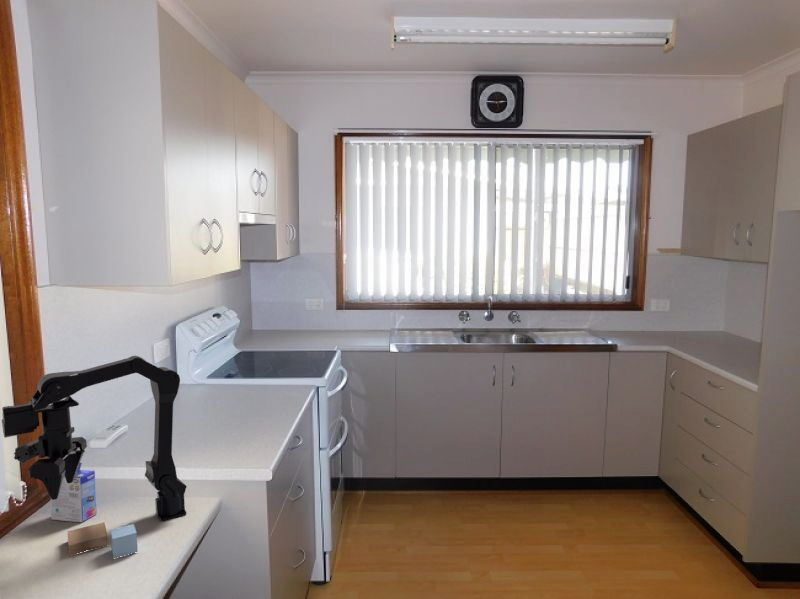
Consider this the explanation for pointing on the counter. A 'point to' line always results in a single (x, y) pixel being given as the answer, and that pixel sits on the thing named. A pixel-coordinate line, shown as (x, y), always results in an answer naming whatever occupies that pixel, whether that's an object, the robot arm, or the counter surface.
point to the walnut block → (87, 538)
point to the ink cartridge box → (76, 498)
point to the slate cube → (124, 541)
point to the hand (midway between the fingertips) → (62, 490)
